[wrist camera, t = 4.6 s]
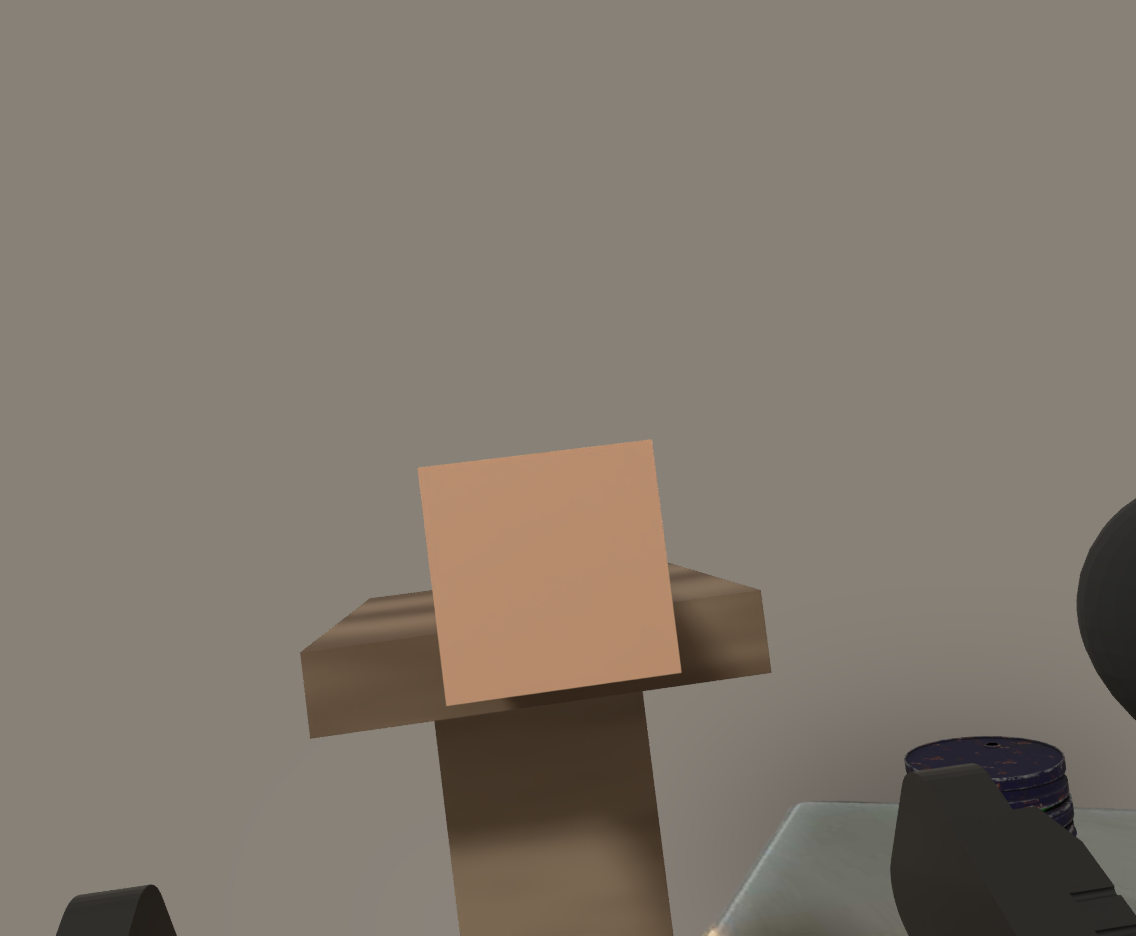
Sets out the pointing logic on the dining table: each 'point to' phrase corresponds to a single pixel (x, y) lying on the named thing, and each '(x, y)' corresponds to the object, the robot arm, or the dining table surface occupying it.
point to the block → (548, 571)
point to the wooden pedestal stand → (536, 760)
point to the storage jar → (1008, 770)
